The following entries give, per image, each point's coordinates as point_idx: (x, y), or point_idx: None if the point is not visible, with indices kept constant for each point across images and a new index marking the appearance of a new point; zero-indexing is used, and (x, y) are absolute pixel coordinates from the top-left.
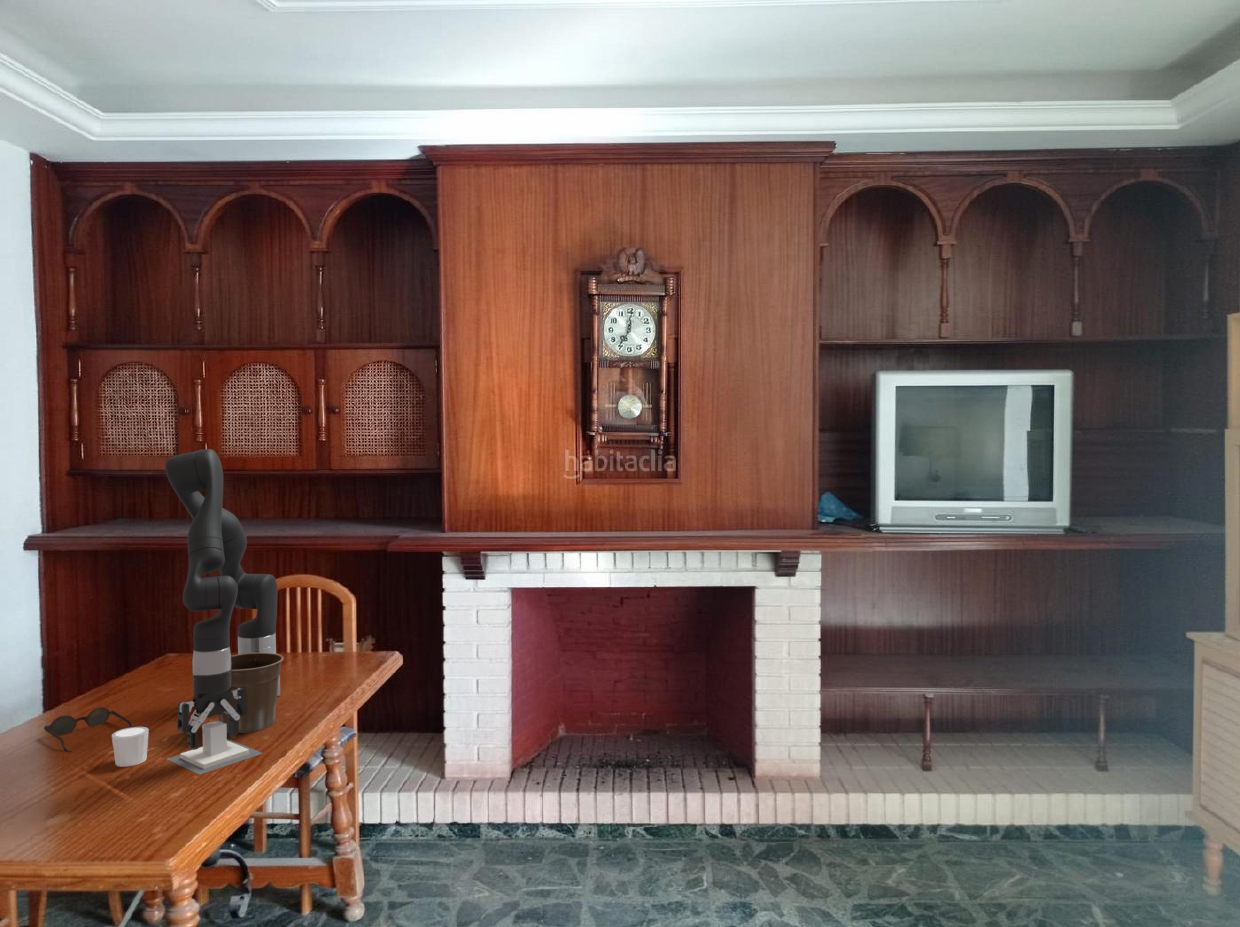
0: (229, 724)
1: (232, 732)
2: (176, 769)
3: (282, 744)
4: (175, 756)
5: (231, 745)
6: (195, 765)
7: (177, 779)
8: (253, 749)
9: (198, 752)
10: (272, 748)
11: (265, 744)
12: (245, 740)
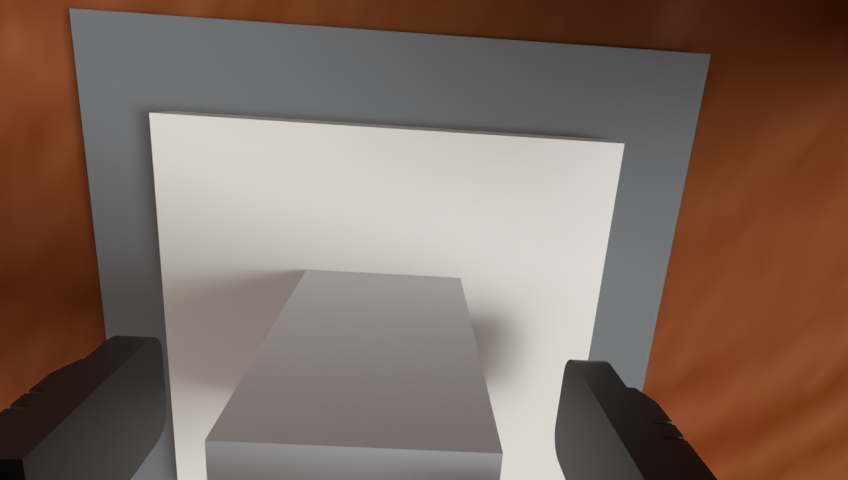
0: (613, 461)
1: (573, 456)
2: (84, 258)
3: (825, 469)
4: (157, 22)
5: (549, 330)
6: None
7: None
8: None
9: (278, 239)
10: (734, 475)
11: (777, 371)
12: (785, 151)
